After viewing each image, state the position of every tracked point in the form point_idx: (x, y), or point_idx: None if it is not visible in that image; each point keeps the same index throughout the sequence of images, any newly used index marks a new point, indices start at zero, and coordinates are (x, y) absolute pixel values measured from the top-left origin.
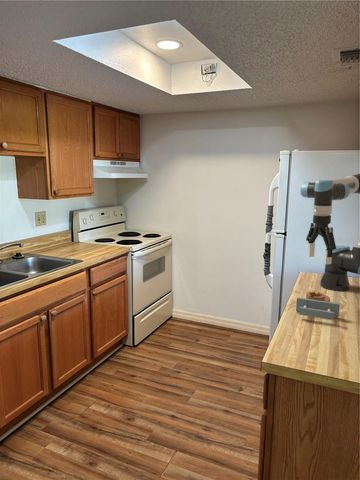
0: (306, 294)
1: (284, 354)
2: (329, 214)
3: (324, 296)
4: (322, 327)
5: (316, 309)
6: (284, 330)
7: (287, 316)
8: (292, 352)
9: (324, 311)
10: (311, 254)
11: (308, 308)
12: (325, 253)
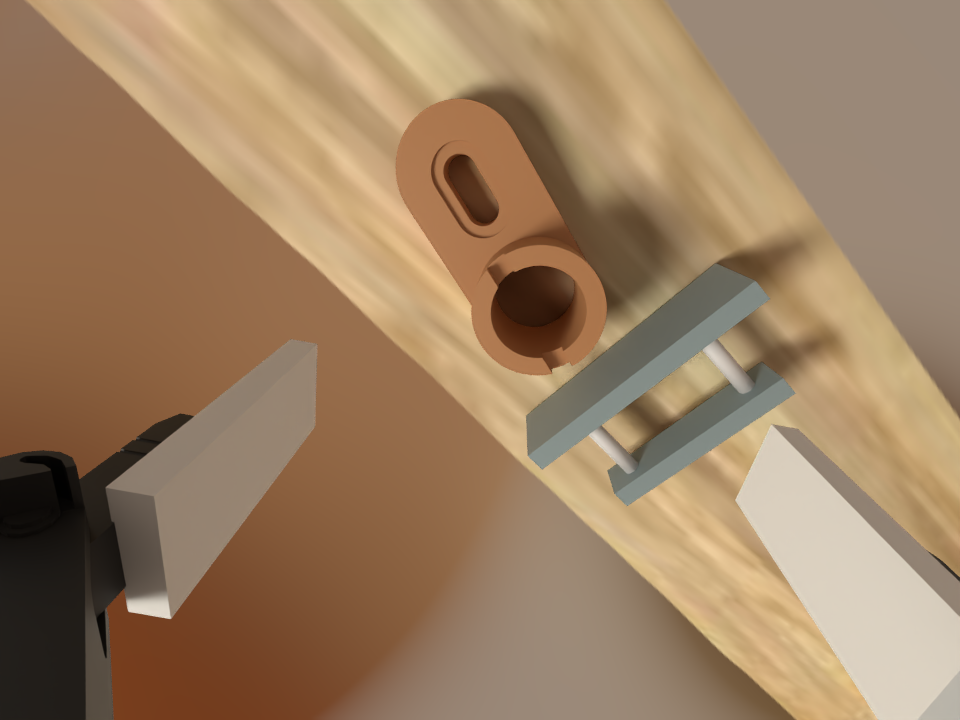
0: (502, 364)
1: (827, 687)
2: None
3: (600, 284)
4: (754, 436)
5: (696, 442)
6: (682, 588)
7: (568, 494)
8: (834, 662)
9: (744, 422)
10: (299, 409)
11: (661, 470)
12: (836, 653)
